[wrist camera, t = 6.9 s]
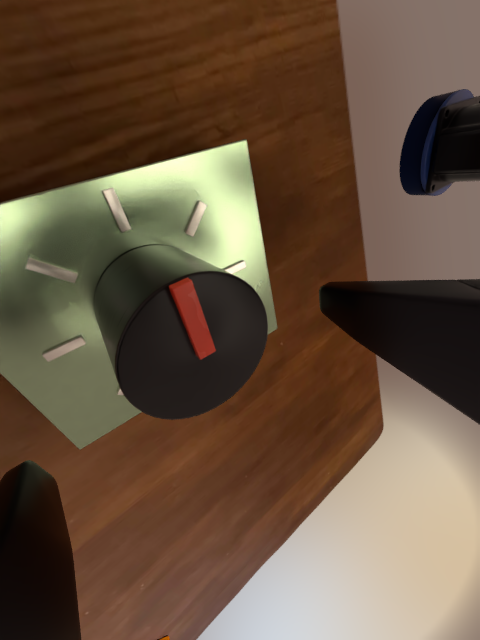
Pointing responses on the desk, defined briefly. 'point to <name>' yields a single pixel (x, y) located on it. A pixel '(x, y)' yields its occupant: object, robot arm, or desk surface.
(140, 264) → the pointer wheel
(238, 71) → the desk surface
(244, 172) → the dial panel
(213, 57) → the desk surface
